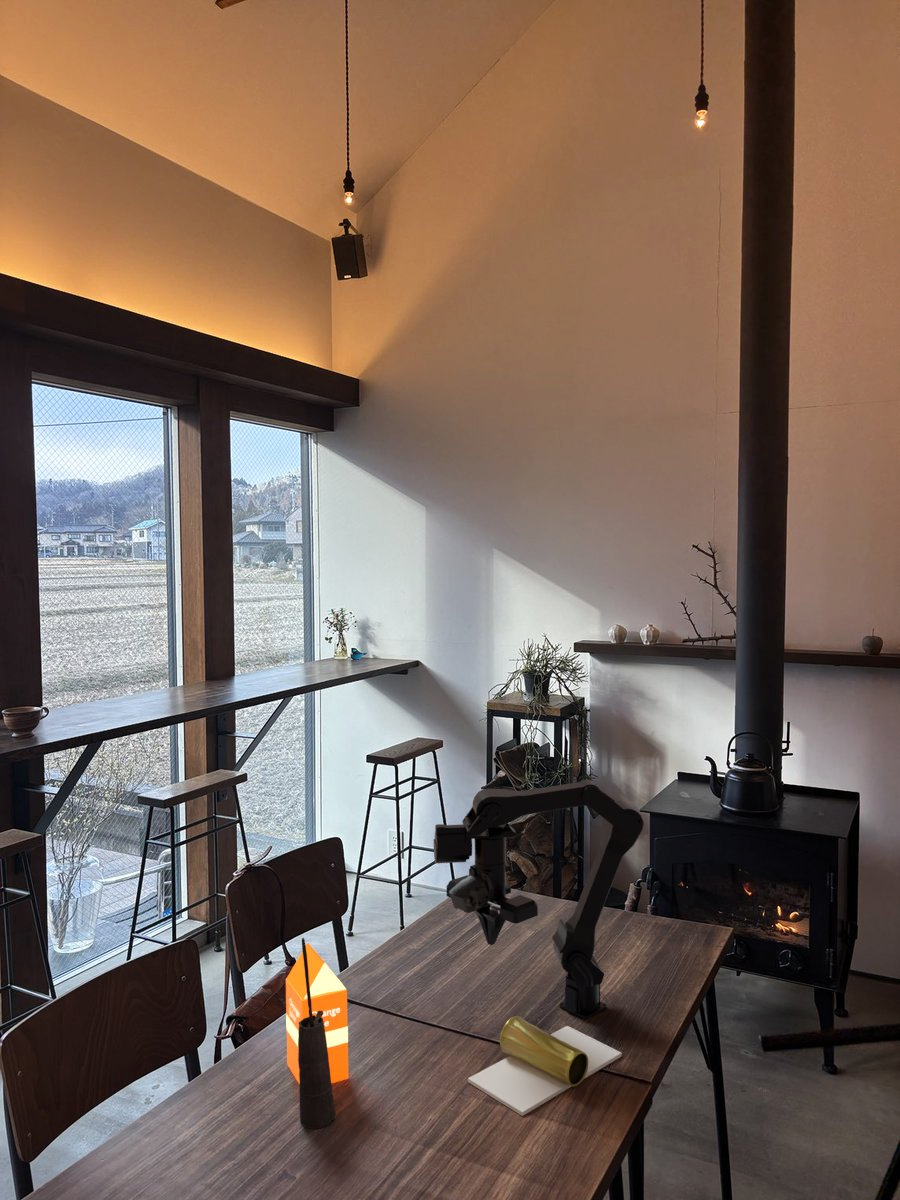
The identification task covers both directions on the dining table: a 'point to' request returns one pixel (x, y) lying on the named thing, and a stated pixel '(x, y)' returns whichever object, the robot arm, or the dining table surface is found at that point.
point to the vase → (543, 1051)
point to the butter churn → (314, 1066)
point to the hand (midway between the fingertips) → (491, 944)
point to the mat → (538, 1074)
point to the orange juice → (325, 998)
